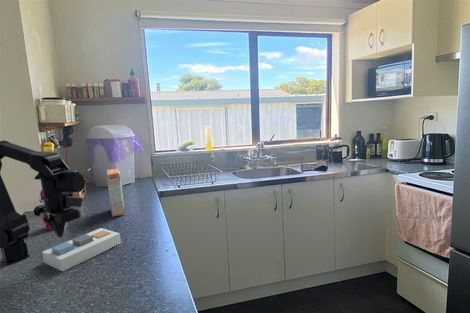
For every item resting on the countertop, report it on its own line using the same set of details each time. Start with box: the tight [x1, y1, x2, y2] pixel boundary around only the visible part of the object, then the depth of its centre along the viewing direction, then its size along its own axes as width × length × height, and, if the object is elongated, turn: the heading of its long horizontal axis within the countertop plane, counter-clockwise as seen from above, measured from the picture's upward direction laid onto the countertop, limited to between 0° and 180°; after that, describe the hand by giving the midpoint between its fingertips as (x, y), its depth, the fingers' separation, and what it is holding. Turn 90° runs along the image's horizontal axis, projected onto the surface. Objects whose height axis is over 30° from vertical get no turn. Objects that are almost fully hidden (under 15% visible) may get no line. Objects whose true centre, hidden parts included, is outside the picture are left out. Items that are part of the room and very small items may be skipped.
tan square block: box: [91, 230, 110, 239], centre depth 113 cm, size 5×5×3 cm
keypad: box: [41, 227, 122, 272], centre depth 108 cm, size 22×12×4 cm, turn 147°
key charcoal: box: [71, 233, 93, 247], centre depth 107 cm, size 5×5×3 cm
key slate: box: [50, 241, 74, 256], centre depth 102 cm, size 5×5×3 cm
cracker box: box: [106, 168, 125, 218], centre depth 148 cm, size 14×6×21 cm, turn 22°
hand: (60, 236), depth 101 cm, fingers closed
